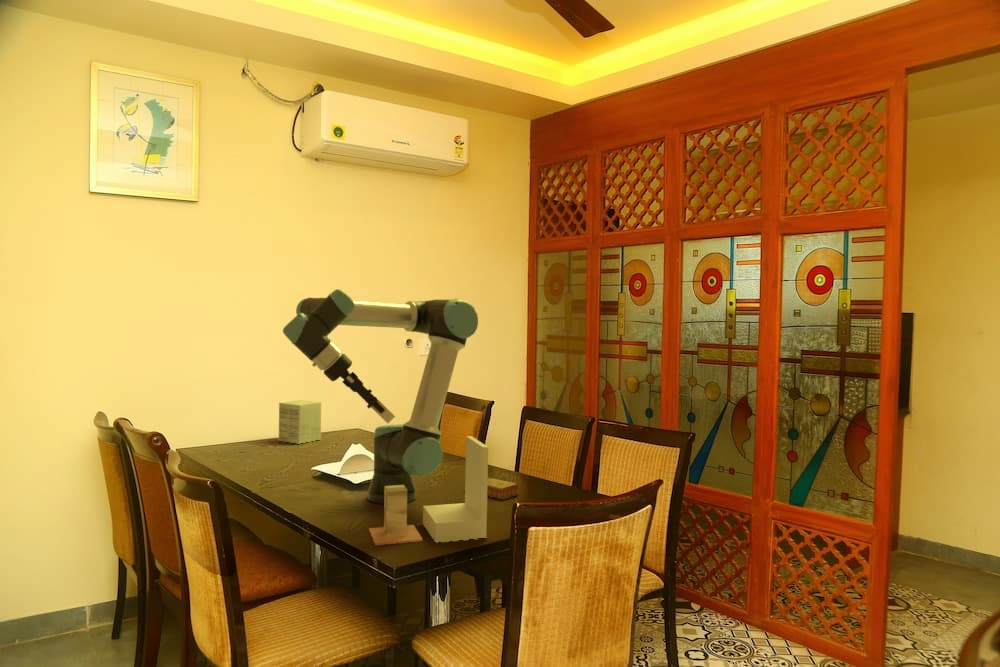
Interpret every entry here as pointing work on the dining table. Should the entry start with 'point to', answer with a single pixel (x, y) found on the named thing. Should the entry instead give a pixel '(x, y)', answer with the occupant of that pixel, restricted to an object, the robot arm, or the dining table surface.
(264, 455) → the dining table surface
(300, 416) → the supplement box
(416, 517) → the dining table surface
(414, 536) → the tile pad
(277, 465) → the dining table surface
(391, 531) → the maple block
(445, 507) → the l-shaped bookend
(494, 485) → the carton
